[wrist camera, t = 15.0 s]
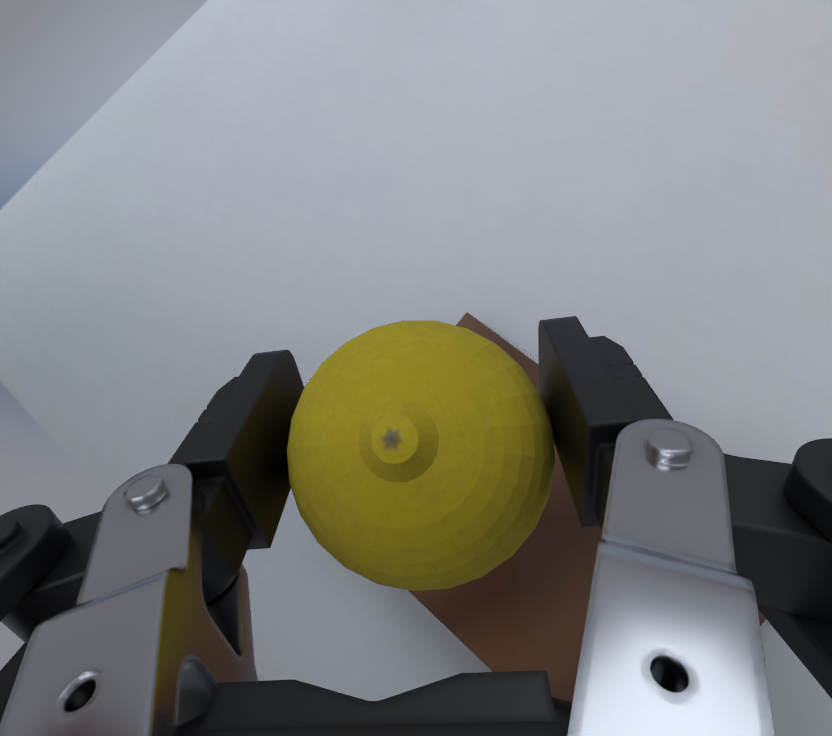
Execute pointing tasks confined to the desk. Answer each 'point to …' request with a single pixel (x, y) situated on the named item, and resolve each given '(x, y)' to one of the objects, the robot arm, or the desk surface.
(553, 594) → the cutting board
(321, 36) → the desk surface
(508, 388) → the lemon
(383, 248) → the desk surface
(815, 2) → the desk surface
